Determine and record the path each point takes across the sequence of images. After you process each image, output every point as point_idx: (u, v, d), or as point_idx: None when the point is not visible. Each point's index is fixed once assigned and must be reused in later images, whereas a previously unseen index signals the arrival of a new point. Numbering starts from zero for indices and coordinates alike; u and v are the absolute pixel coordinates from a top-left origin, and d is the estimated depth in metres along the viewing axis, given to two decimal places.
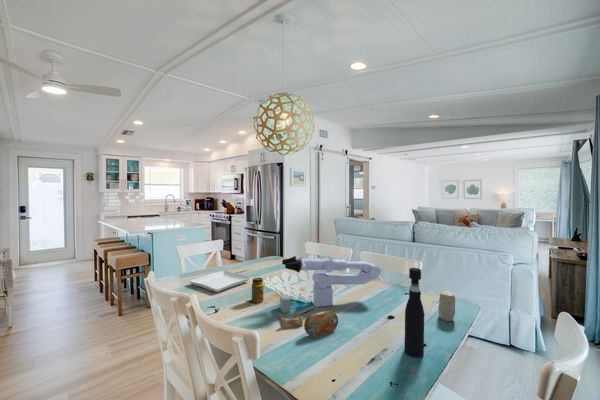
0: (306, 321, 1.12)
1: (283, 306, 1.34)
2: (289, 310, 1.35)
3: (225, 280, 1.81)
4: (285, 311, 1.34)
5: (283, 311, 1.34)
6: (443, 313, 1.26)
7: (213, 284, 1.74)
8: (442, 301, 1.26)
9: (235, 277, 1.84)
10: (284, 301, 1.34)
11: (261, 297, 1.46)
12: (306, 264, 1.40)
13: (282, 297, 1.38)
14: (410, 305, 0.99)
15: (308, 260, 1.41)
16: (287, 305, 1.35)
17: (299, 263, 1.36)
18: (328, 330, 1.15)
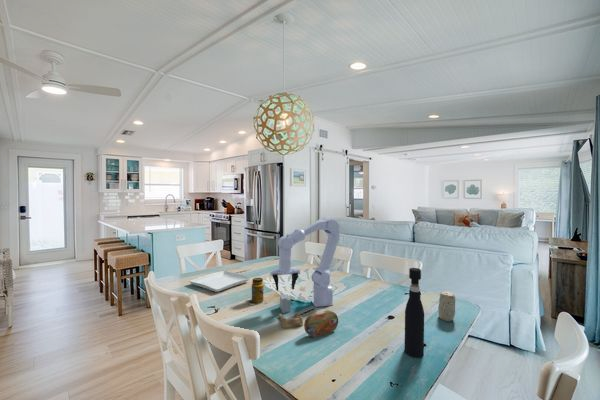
0: (306, 321, 1.12)
1: (283, 306, 1.34)
2: (289, 310, 1.35)
3: (226, 280, 1.81)
4: (285, 311, 1.34)
5: (283, 311, 1.34)
6: (443, 313, 1.26)
7: (213, 284, 1.74)
8: (442, 301, 1.26)
9: (235, 277, 1.84)
10: (284, 301, 1.34)
11: (261, 297, 1.46)
12: (290, 267, 1.37)
13: (282, 297, 1.38)
14: (410, 305, 0.99)
15: (289, 265, 1.35)
16: (287, 305, 1.35)
17: None
18: (328, 330, 1.15)
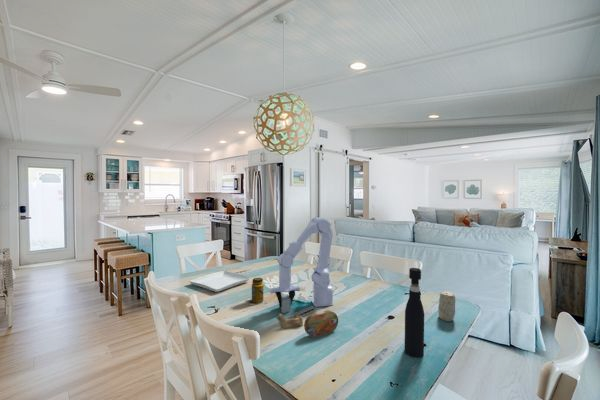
0: (306, 321, 1.12)
1: (283, 306, 1.34)
2: (289, 310, 1.35)
3: (226, 280, 1.81)
4: (285, 311, 1.34)
5: (283, 311, 1.34)
6: (443, 313, 1.26)
7: (213, 284, 1.74)
8: (442, 301, 1.26)
9: (235, 277, 1.84)
10: (284, 301, 1.34)
11: (261, 297, 1.46)
12: (290, 284, 1.38)
13: (282, 297, 1.38)
14: (410, 305, 0.99)
15: (289, 283, 1.36)
16: (287, 305, 1.35)
17: (294, 294, 1.37)
18: (328, 330, 1.15)
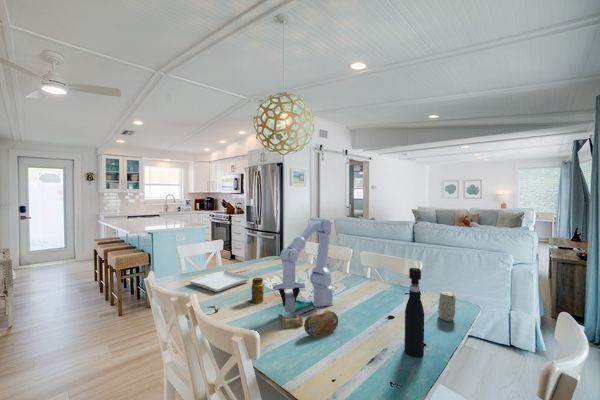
0: (306, 321, 1.12)
1: (287, 304, 1.25)
2: (293, 309, 1.26)
3: (226, 280, 1.81)
4: (289, 310, 1.25)
5: (287, 310, 1.25)
6: (443, 313, 1.26)
7: (213, 284, 1.74)
8: (442, 301, 1.26)
9: (235, 277, 1.84)
10: (288, 299, 1.25)
11: (261, 297, 1.46)
12: None
13: (286, 295, 1.29)
14: (410, 305, 0.99)
15: (293, 279, 1.26)
16: (291, 303, 1.25)
17: None
18: (328, 330, 1.15)
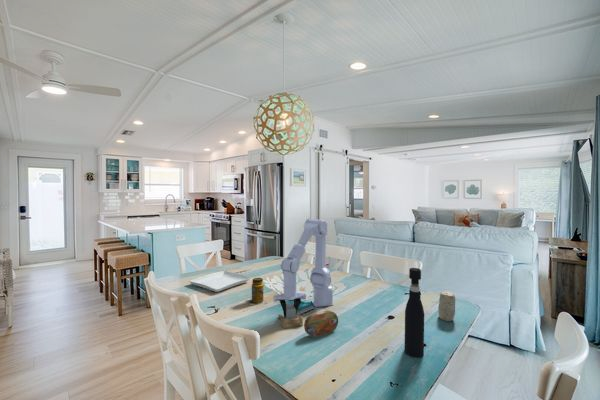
0: (306, 321, 1.12)
1: (288, 316, 1.23)
2: None
3: (226, 280, 1.81)
4: None
5: None
6: (443, 313, 1.26)
7: (213, 284, 1.74)
8: (442, 301, 1.26)
9: (235, 277, 1.84)
10: (289, 310, 1.23)
11: (261, 297, 1.46)
12: None
13: (286, 306, 1.27)
14: (410, 305, 0.99)
15: (294, 290, 1.24)
16: (292, 315, 1.23)
17: None
18: (328, 330, 1.15)
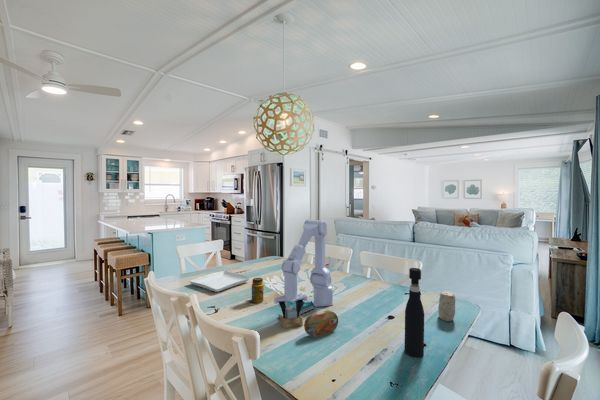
0: (306, 321, 1.12)
1: (289, 318, 1.21)
2: None
3: (226, 280, 1.81)
4: None
5: None
6: (443, 313, 1.26)
7: (213, 284, 1.74)
8: (442, 301, 1.26)
9: (235, 277, 1.84)
10: (290, 313, 1.21)
11: (261, 297, 1.46)
12: None
13: (287, 308, 1.25)
14: (410, 305, 0.99)
15: (295, 291, 1.22)
16: (293, 317, 1.22)
17: None
18: (328, 330, 1.15)
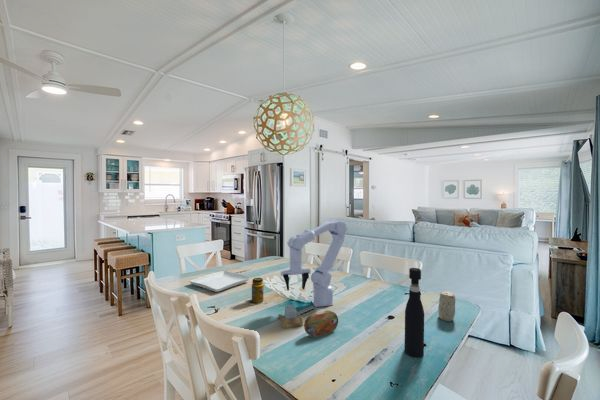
0: (306, 321, 1.12)
1: (289, 318, 1.21)
2: None
3: (226, 280, 1.81)
4: None
5: None
6: (443, 313, 1.26)
7: (213, 284, 1.74)
8: (442, 301, 1.26)
9: (235, 277, 1.84)
10: (290, 313, 1.21)
11: (261, 297, 1.46)
12: (301, 267, 1.38)
13: (287, 308, 1.25)
14: (410, 305, 0.99)
15: (299, 265, 1.36)
16: (293, 317, 1.22)
17: None
18: (328, 330, 1.15)
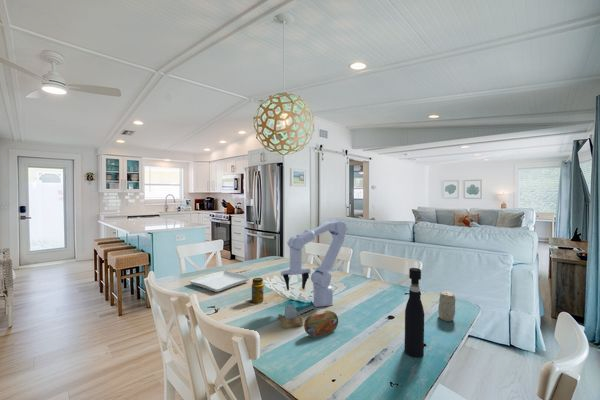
0: (306, 321, 1.12)
1: (289, 318, 1.21)
2: None
3: (226, 280, 1.81)
4: None
5: None
6: (443, 313, 1.26)
7: (213, 284, 1.74)
8: (442, 301, 1.26)
9: (235, 277, 1.84)
10: (290, 313, 1.21)
11: (261, 297, 1.46)
12: (301, 267, 1.38)
13: (287, 308, 1.25)
14: (410, 305, 0.99)
15: (299, 265, 1.36)
16: (293, 317, 1.22)
17: None
18: (328, 330, 1.15)
